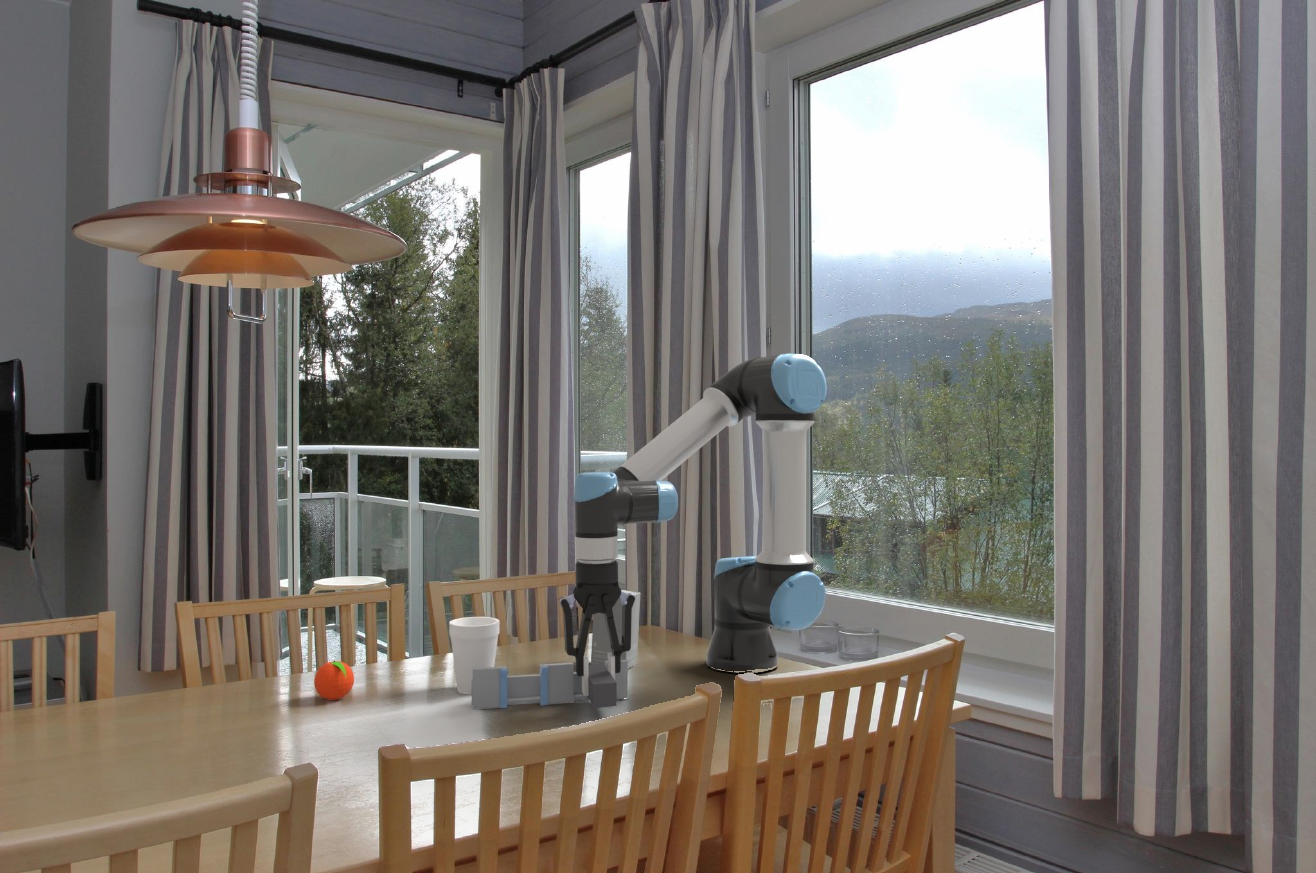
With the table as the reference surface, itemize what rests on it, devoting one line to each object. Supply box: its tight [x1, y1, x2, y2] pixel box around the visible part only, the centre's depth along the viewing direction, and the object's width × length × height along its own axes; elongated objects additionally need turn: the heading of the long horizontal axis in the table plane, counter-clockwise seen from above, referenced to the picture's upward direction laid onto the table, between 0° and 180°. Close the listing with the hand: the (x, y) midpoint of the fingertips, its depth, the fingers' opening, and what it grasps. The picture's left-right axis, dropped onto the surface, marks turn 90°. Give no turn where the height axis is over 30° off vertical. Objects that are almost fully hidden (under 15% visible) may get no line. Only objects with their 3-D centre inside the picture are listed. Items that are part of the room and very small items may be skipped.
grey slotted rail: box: [470, 660, 629, 710], centre depth 171 cm, size 28×5×7 cm, turn 104°
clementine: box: [313, 659, 355, 701], centre depth 172 cm, size 8×7×7 cm
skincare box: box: [590, 589, 642, 670], centre depth 198 cm, size 8×7×16 cm
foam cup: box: [448, 616, 501, 695], centre depth 179 cm, size 10×9×13 cm
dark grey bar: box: [587, 663, 618, 709], centre depth 165 cm, size 4×14×4 cm, turn 13°
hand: (598, 692), depth 165 cm, fingers closed on dark grey bar, 4 cm apart
